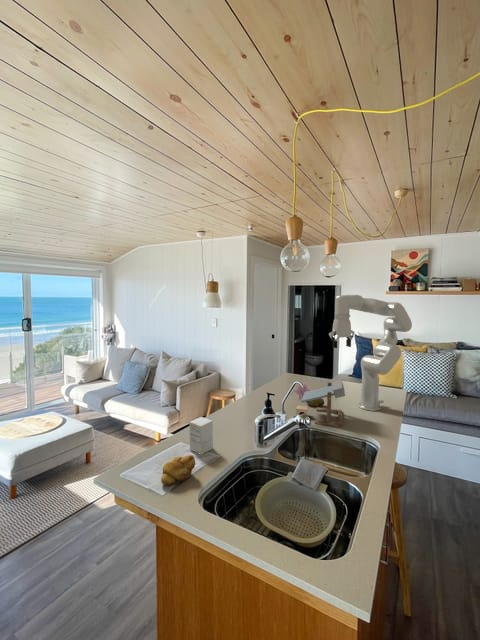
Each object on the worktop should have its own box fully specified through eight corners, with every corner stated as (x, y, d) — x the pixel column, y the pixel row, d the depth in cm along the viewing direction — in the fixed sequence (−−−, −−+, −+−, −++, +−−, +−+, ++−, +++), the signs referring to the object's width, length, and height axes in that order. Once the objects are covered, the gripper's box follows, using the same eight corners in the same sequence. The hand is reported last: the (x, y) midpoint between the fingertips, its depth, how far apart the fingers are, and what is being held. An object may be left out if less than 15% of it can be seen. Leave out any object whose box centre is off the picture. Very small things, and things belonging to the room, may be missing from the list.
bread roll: (168, 492, 104) (167, 469, 104) (153, 480, 111) (152, 458, 110) (198, 476, 113) (198, 455, 113) (182, 466, 120) (182, 446, 120)
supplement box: (201, 443, 139) (201, 416, 138) (213, 448, 134) (213, 420, 133) (189, 449, 133) (188, 421, 132) (201, 455, 128) (200, 426, 127)
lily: (289, 400, 202) (292, 389, 196) (295, 389, 211) (298, 378, 205) (307, 408, 198) (310, 397, 192) (312, 396, 207) (315, 386, 201)
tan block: (308, 406, 173) (297, 405, 175) (307, 409, 168) (296, 408, 170) (307, 415, 173) (297, 414, 175) (306, 418, 168) (295, 417, 170)
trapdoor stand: (341, 411, 178) (342, 383, 177) (342, 426, 157) (343, 394, 156) (316, 409, 182) (317, 381, 181) (314, 423, 161) (315, 391, 160)
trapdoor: (343, 387, 174) (341, 380, 174) (345, 396, 159) (342, 387, 159) (305, 396, 181) (303, 389, 181) (303, 405, 165) (300, 397, 165)
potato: (319, 409, 182) (319, 396, 181) (300, 404, 190) (300, 391, 190) (325, 405, 188) (325, 393, 188) (306, 401, 197) (307, 388, 196)
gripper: (349, 316, 180) (349, 345, 181) (325, 317, 173) (325, 347, 175) (359, 317, 173) (358, 347, 174) (334, 318, 167) (333, 349, 168)
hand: (341, 347), depth 175 cm, fingers open, 9 cm apart
